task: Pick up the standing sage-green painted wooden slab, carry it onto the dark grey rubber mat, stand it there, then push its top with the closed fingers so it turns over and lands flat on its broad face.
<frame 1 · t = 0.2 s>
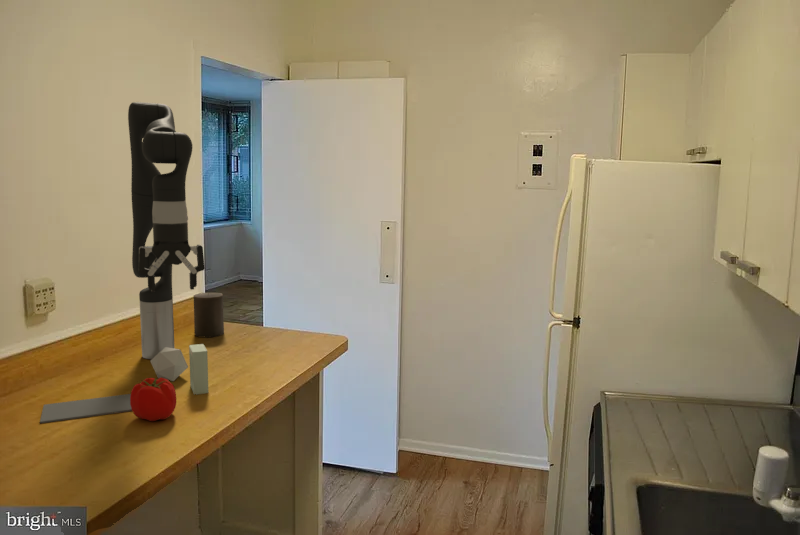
hand: (172, 290, 145), 28 cm above the counter, fingers open, 8 cm apart
slab: (199, 389, 160), on the counter
tomato: (155, 418, 142), on the counter
pillar candle: (209, 334, 214), on the counter
mat: (90, 408, 146), on the counter
die: (169, 378, 168), on the counter
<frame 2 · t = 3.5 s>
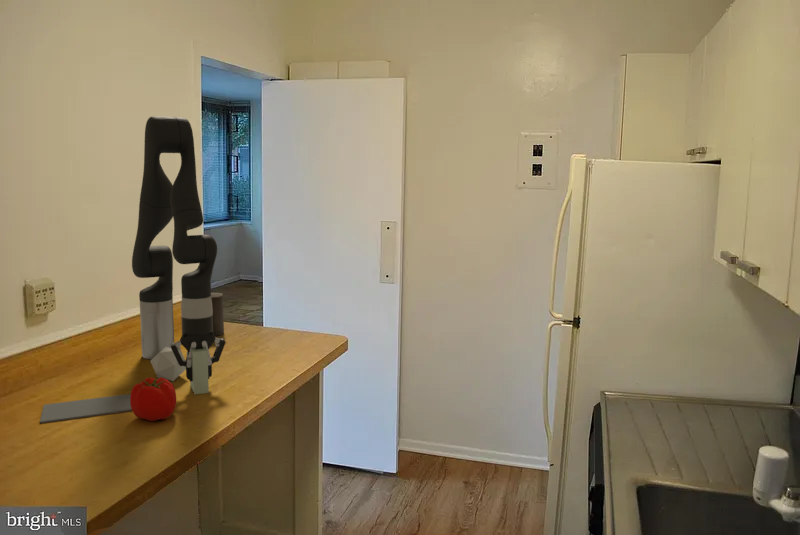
hand: (199, 379, 160), 3 cm above the counter, fingers closed on slab, 3 cm apart
slab: (199, 389, 160), on the counter, touching gripper
everything else where it was.
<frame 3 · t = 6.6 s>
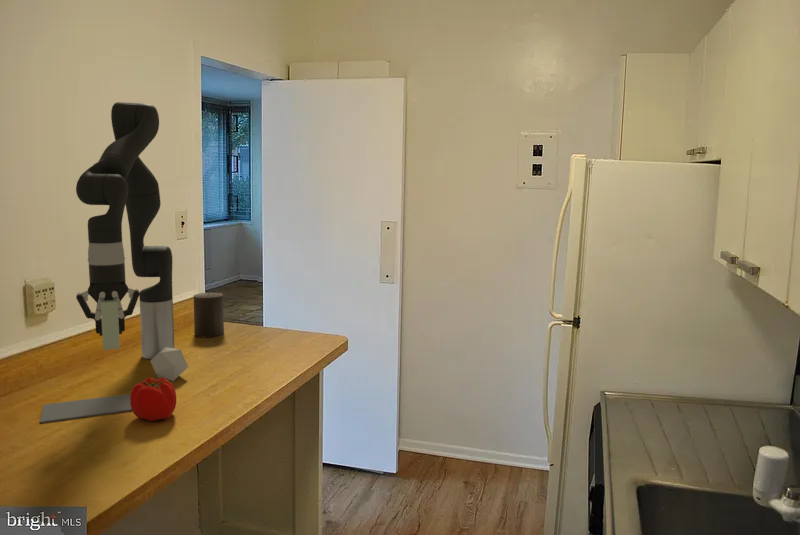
hand: (110, 333, 146), 17 cm above the counter, fingers closed on slab, 3 cm apart
slab: (111, 345, 146), point 15 cm above the counter, touching gripper
everything else where it was.
when the fingers open (4 cm above the counter, at t = 9.7 s): slab stays where it is, resting on mat.
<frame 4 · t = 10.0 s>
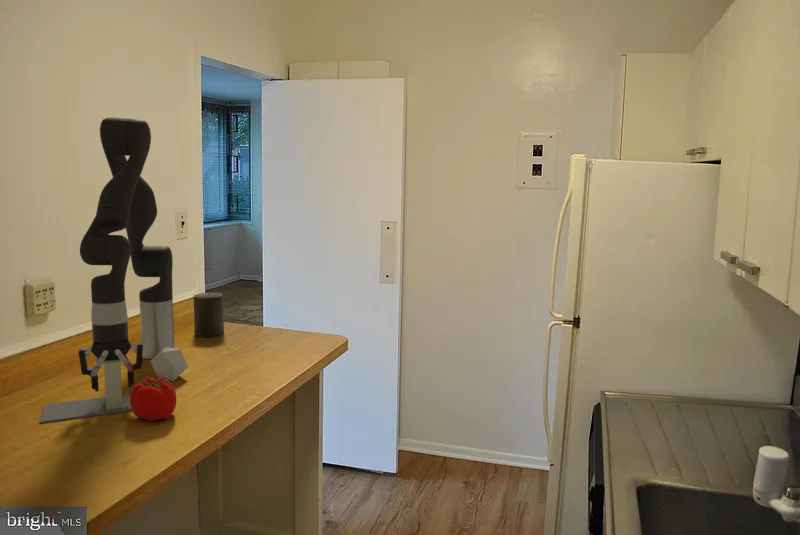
hand: (113, 388, 148), 4 cm above the counter, fingers open, 6 cm apart
slab: (114, 403, 148), resting on mat
everything else where it was.
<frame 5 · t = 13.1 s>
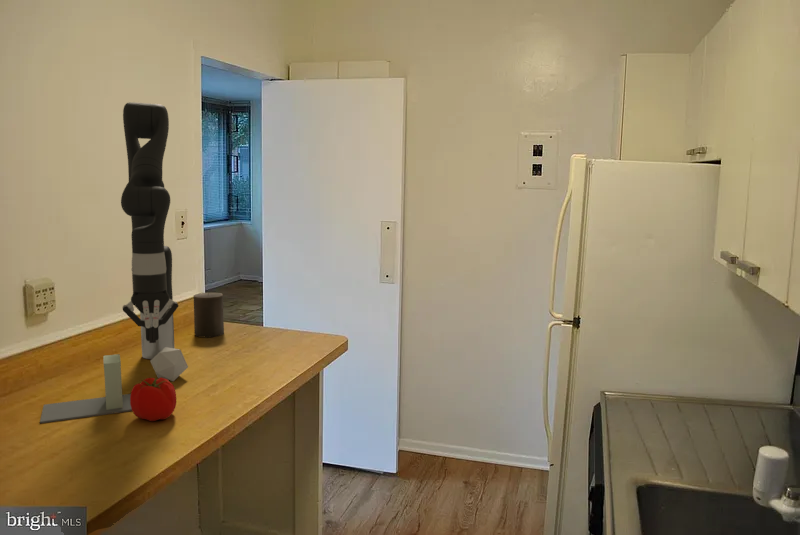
hand: (152, 342, 150), 15 cm above the counter, fingers closed
nothing on the counter moved.
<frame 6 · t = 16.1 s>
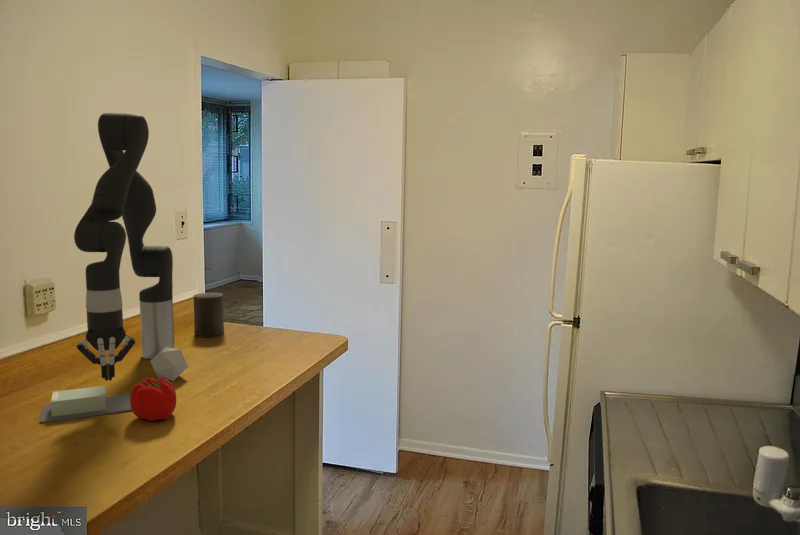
hand: (108, 379, 147), 7 cm above the counter, fingers closed
slab: (105, 397, 147), point 2 cm above the counter, tilted 90°, touching mat
everything else where it was.
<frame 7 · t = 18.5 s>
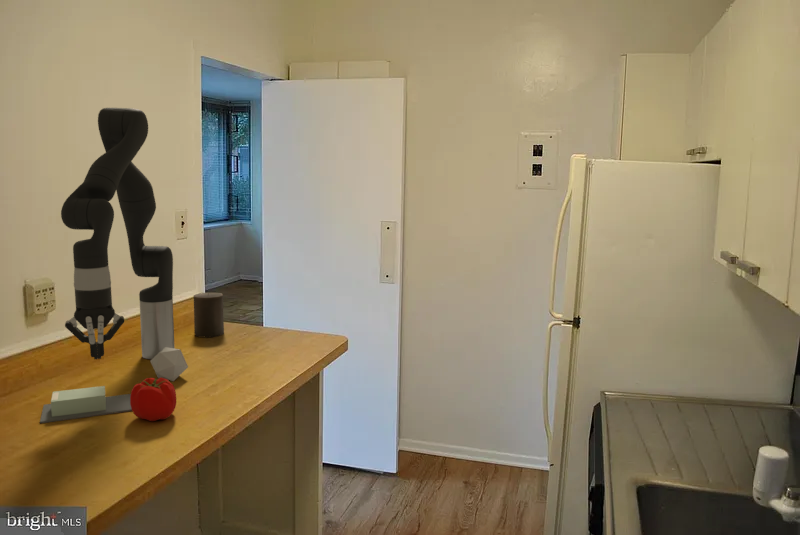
hand: (97, 358, 146), 12 cm above the counter, fingers closed
nothing on the counter moved.
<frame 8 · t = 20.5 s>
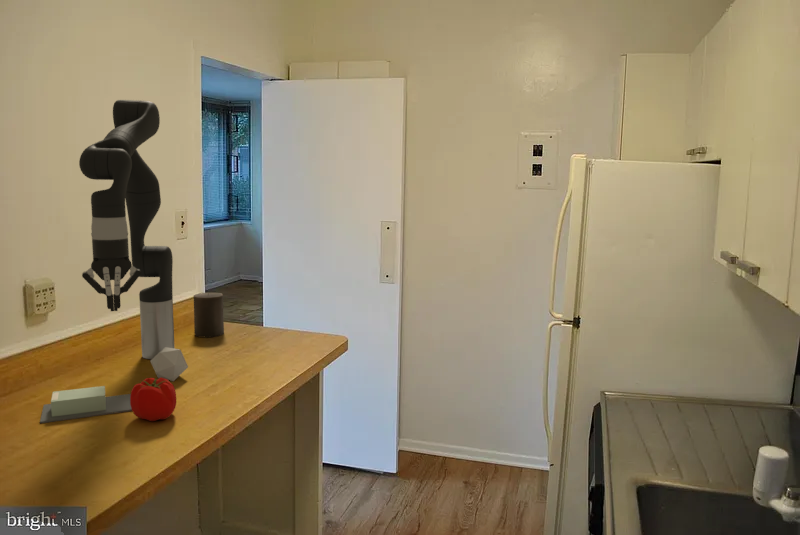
hand: (113, 310, 145), 23 cm above the counter, fingers closed
nothing on the counter moved.
at the end: slab tilted 90°; slab inside the target area (3.7 cm from its centre), point 2.1 cm above the counter; the gripper is holding nothing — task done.
